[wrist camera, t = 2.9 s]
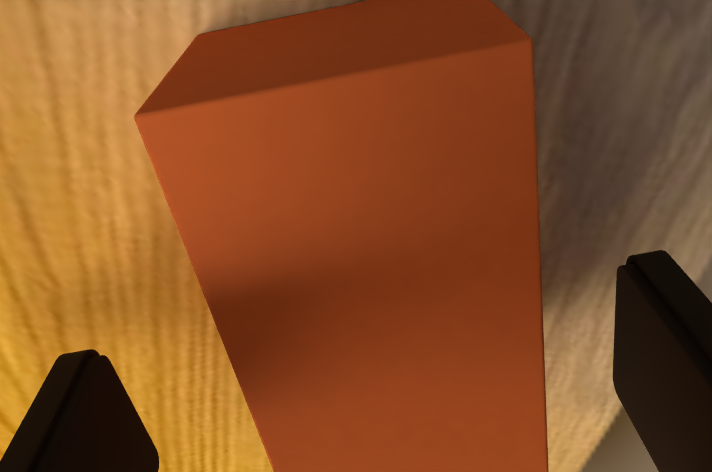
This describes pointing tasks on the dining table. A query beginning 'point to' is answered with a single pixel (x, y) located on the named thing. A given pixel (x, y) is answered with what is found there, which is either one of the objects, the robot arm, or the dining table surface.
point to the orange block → (367, 230)
